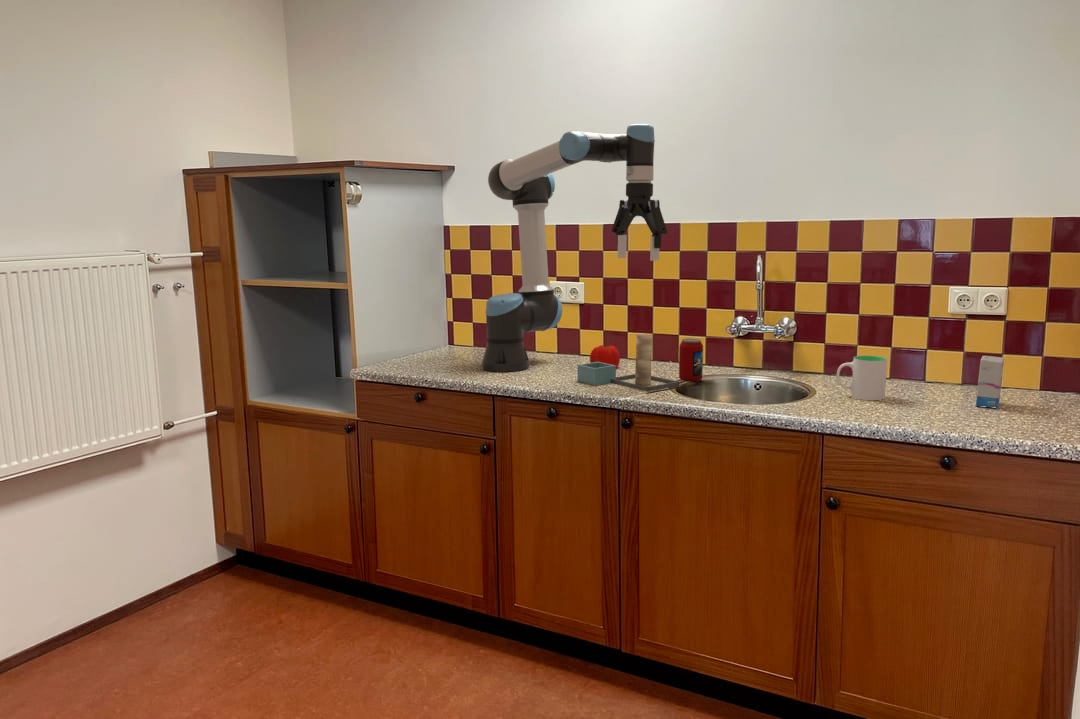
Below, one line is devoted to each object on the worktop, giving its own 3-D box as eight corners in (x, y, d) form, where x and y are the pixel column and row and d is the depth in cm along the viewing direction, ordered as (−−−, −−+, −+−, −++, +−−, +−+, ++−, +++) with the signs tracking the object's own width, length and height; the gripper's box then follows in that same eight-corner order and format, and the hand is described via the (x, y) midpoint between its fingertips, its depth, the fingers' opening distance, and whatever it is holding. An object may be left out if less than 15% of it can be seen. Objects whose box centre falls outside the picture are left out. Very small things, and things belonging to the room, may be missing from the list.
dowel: (631, 383, 228) (633, 334, 226) (643, 381, 231) (644, 333, 228) (642, 386, 225) (644, 336, 222) (654, 384, 227) (655, 335, 225)
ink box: (998, 409, 195) (1002, 361, 193) (975, 407, 198) (979, 359, 196) (1000, 402, 202) (1004, 356, 200) (977, 400, 205) (981, 354, 203)
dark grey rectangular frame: (608, 384, 230) (608, 378, 230) (639, 379, 237) (639, 373, 237) (647, 394, 218) (647, 387, 217) (678, 387, 225) (679, 381, 224)
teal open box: (577, 383, 233) (577, 364, 232) (598, 380, 237) (598, 361, 236) (595, 387, 226) (594, 368, 225) (615, 384, 231) (615, 365, 230)
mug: (835, 398, 209) (837, 359, 207) (835, 392, 217) (837, 354, 215) (885, 401, 205) (887, 361, 203) (884, 395, 212) (886, 356, 211)
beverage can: (702, 383, 231) (703, 341, 228) (678, 382, 232) (679, 341, 230) (702, 378, 237) (703, 338, 235) (679, 378, 238) (679, 338, 236)
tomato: (617, 366, 257) (617, 343, 256) (621, 372, 249) (621, 348, 247) (588, 367, 257) (588, 344, 256) (591, 372, 248) (590, 348, 247)
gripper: (600, 183, 231) (599, 257, 235) (661, 181, 211) (659, 262, 215) (620, 183, 235) (618, 256, 239) (681, 181, 215) (679, 260, 219)
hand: (637, 259), depth 227 cm, fingers open, 13 cm apart
